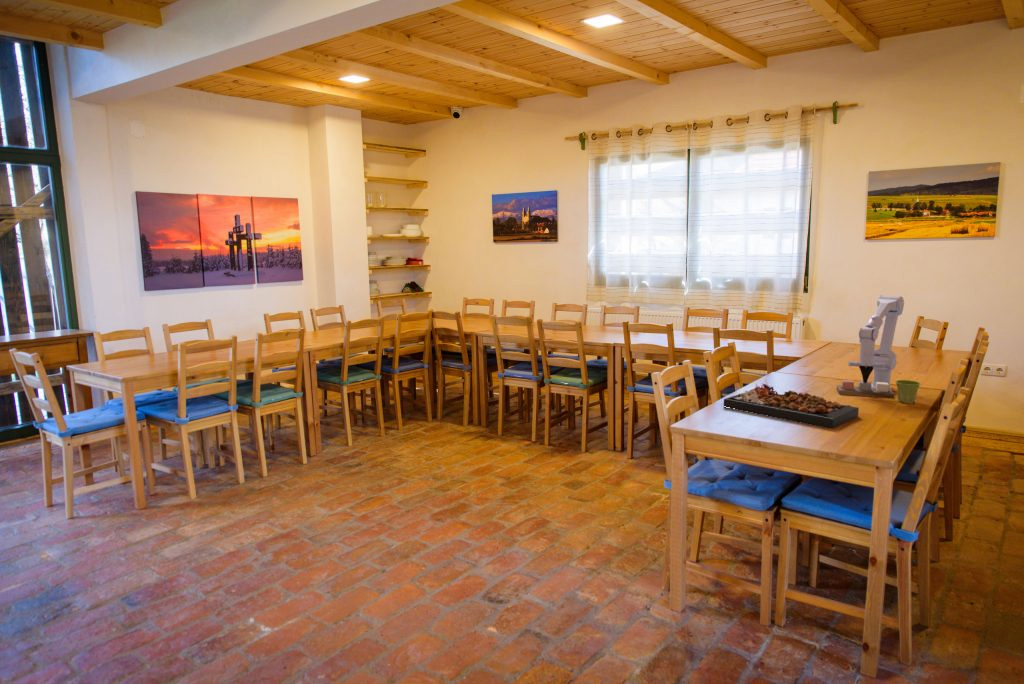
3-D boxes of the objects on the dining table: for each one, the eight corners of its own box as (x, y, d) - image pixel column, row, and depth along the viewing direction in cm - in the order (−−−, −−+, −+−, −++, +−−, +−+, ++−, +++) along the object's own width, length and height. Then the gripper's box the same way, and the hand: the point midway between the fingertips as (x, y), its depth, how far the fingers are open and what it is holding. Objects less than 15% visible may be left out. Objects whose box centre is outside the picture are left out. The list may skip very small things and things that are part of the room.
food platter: (723, 408, 272) (724, 385, 271) (752, 399, 288) (753, 377, 287) (832, 430, 239) (834, 403, 237) (857, 418, 255) (859, 393, 253)
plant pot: (922, 404, 273) (924, 384, 271) (898, 403, 275) (900, 384, 273) (913, 399, 282) (915, 380, 280) (890, 398, 284) (891, 379, 282)
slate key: (858, 388, 296) (858, 380, 296) (869, 388, 295) (870, 381, 294) (859, 390, 292) (860, 382, 292) (870, 390, 291) (871, 383, 290)
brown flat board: (836, 389, 303) (836, 385, 303) (889, 392, 295) (889, 388, 294) (838, 394, 293) (839, 390, 293) (893, 398, 285) (893, 393, 284)
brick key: (841, 387, 299) (841, 379, 299) (852, 387, 297) (852, 380, 297) (842, 389, 295) (842, 381, 294) (853, 389, 293) (854, 382, 293)
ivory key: (875, 389, 294) (875, 381, 293) (886, 390, 292) (887, 382, 292) (876, 391, 290) (877, 383, 289) (888, 392, 288) (888, 384, 287)
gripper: (850, 353, 290) (848, 382, 292) (886, 355, 285) (884, 385, 287) (848, 351, 297) (846, 379, 299) (884, 352, 291) (881, 382, 293)
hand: (864, 382), depth 293 cm, fingers closed, pressing on slate key
